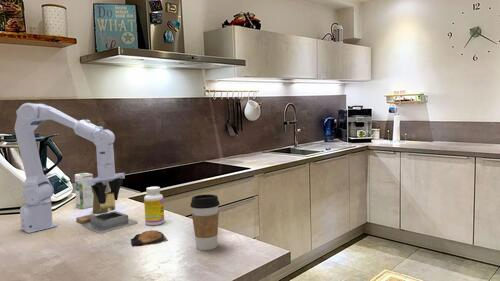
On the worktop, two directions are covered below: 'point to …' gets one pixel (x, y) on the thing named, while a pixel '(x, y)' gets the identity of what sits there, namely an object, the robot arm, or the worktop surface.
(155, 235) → the bread roll
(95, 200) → the cork
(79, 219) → the stand
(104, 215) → the grey square tray
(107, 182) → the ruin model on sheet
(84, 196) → the syrup box
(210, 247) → the coffee cup
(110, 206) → the slotted brass cylinder
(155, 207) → the supplement bottle
